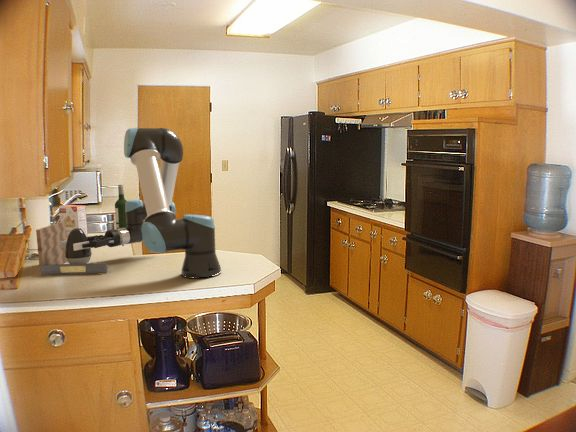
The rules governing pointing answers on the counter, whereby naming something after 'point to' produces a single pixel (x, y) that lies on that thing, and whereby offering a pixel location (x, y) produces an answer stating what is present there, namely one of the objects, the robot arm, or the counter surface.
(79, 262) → the black rounded dome
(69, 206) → the cracker box
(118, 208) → the wine bottle
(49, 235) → the shelf side panel
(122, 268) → the counter surface
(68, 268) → the price rail
